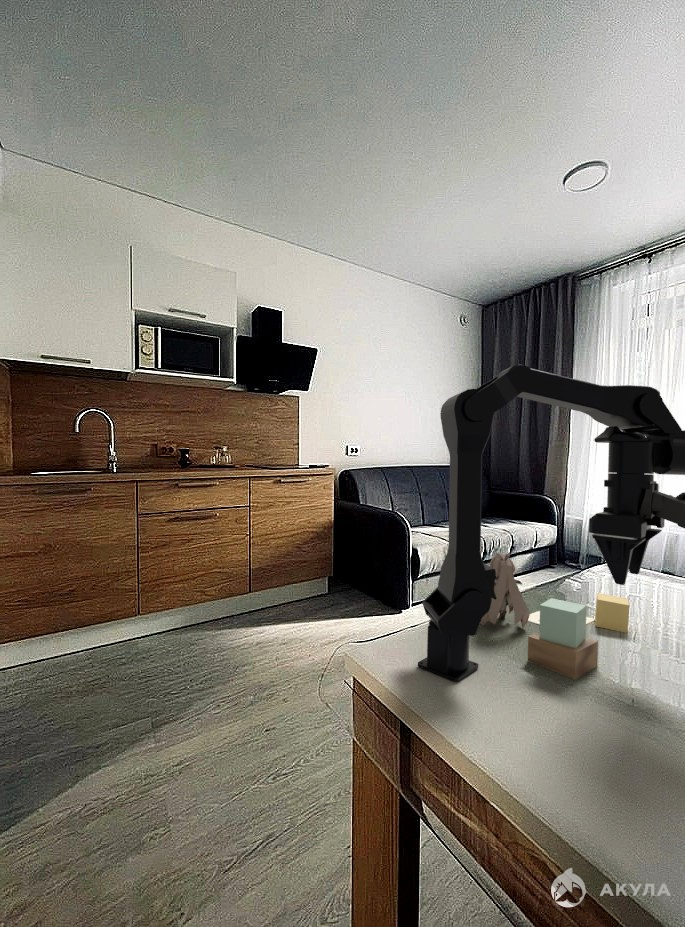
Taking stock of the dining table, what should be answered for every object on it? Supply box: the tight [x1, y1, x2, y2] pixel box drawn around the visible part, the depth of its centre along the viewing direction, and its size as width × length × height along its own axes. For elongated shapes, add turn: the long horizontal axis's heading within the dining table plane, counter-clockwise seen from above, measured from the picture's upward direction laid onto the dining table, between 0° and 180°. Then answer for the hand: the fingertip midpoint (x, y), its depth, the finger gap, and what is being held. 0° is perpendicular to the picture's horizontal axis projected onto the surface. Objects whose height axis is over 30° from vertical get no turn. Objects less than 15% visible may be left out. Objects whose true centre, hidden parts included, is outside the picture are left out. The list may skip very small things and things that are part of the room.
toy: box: [480, 552, 530, 629], centre depth 82 cm, size 9×8×15 cm
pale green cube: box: [538, 597, 587, 648], centre depth 67 cm, size 5×5×5 cm
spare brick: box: [594, 592, 630, 633], centre depth 83 cm, size 5×5×5 cm
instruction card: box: [527, 610, 595, 626], centre depth 86 cm, size 12×9×1 cm
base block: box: [527, 631, 599, 680], centre depth 67 cm, size 7×7×4 cm
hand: (627, 578), depth 66 cm, fingers open, 9 cm apart
